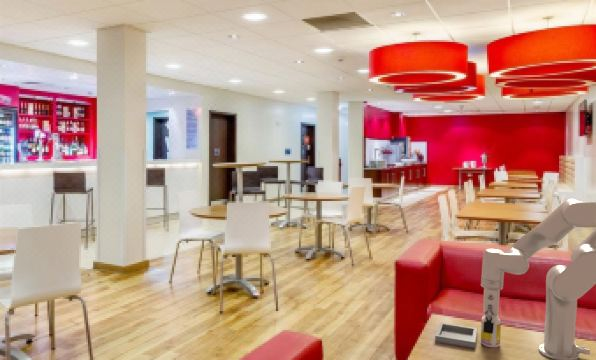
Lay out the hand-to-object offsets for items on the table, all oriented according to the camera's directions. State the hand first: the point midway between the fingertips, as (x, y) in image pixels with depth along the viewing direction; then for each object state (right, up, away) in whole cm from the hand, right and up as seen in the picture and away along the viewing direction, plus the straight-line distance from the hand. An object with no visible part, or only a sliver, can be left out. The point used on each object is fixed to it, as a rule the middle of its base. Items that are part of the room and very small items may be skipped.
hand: (488, 327), depth 178 cm
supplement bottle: (+1, -6, 0) cm, 6 cm away
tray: (-10, -6, +6) cm, 13 cm away
